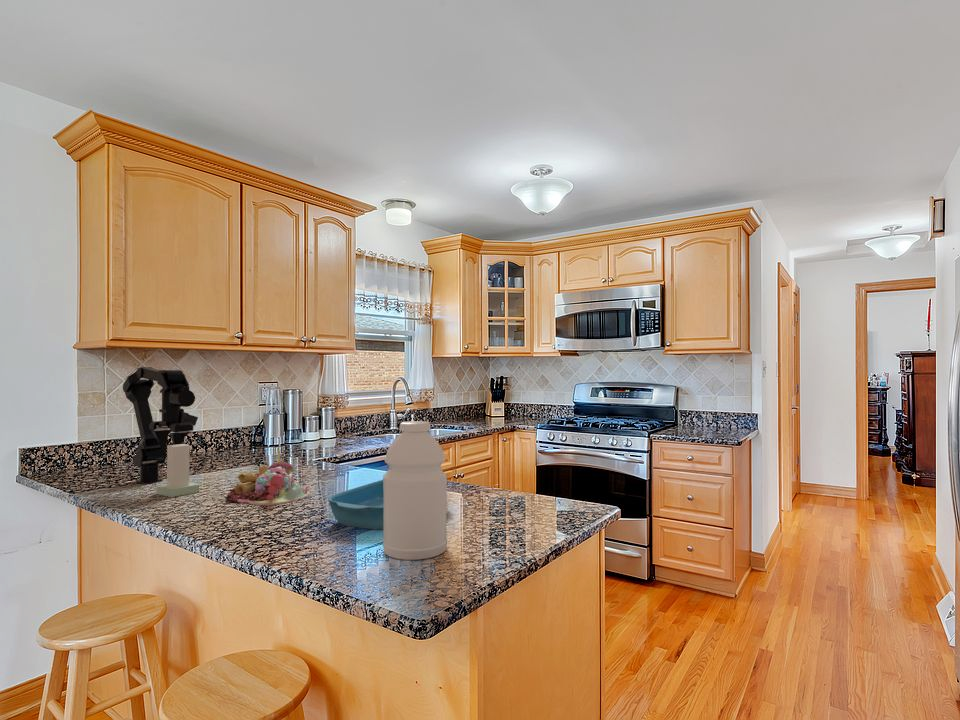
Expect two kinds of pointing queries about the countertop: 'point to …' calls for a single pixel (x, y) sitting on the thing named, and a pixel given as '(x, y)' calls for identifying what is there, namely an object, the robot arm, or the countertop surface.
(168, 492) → the trivet
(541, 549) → the countertop surface
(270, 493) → the candy landscape model
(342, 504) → the casserole dish
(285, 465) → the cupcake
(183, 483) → the cream block
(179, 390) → the robot arm
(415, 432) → the bottle
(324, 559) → the countertop surface
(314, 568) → the countertop surface
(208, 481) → the countertop surface
